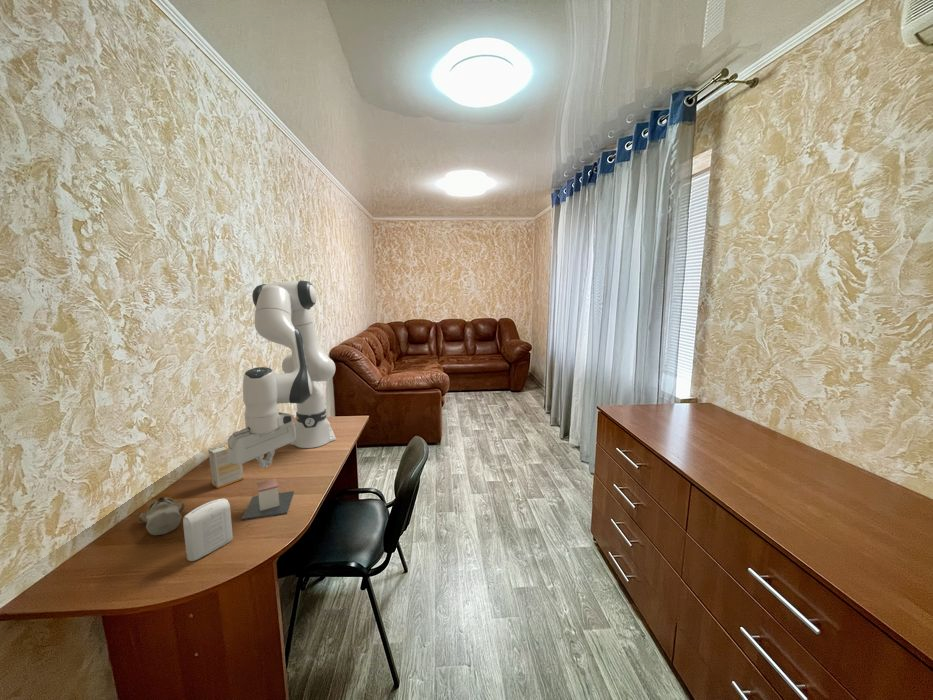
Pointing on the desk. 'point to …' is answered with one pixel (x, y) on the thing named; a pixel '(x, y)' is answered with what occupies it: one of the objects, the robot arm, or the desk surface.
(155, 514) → the ceramic sculpture
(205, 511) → the photo printer
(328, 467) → the desk surface
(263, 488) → the pink and white block
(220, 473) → the supplement box
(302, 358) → the robot arm
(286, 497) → the grey square base plate
